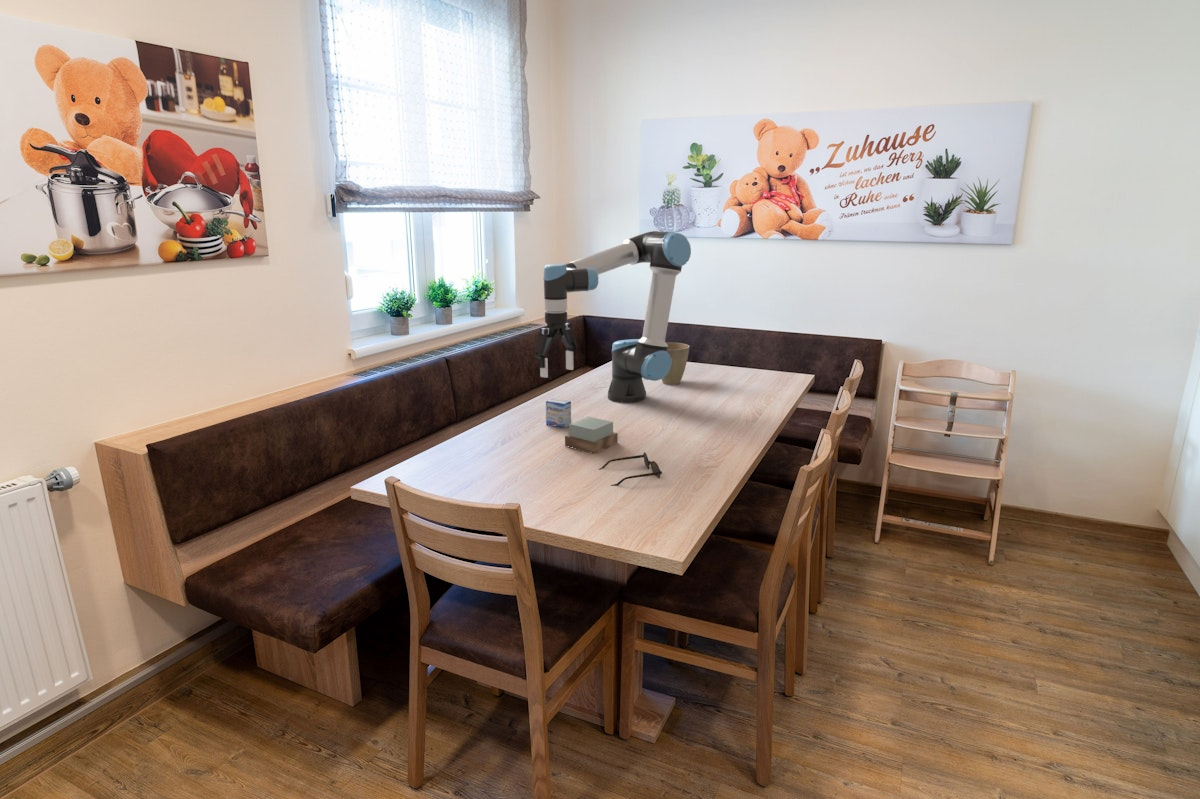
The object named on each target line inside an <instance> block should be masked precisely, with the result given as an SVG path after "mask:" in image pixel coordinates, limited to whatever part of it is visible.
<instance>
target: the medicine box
mask: <svg viewBox="0 0 1200 799" xmlns="http://www.w3.org/2000/svg"><path fill="white" fill-rule="evenodd" d="M570 423H572V401H570V400H563V399H558V398H557V399H556V398H549V399H548V400H546V401H545V424H546V425H547V424H549V425H548V426H551V425H556V426H555V427H558V426H561V427H560V428H564V427H565V428H567V427H569V426H568V425H569V424H570ZM566 426H567V427H566Z"/></svg>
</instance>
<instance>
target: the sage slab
mask: <svg viewBox="0 0 1200 799" xmlns="http://www.w3.org/2000/svg"><path fill="white" fill-rule="evenodd" d="M613 432H614V421H611V420H606V419H602V418H597V417H592V416H586V417H584V418H580V419H578V420H575V421H573V422H571V423H570V424H569V426H568V435H569V436H571V437H575V438H579V439H583V440H588V441H592V442H596V441H598V440H600V439H602V438H605V437H607V436H609V435H611V434H613Z"/></svg>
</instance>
